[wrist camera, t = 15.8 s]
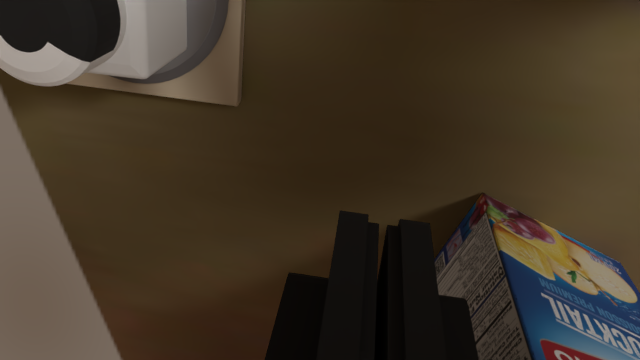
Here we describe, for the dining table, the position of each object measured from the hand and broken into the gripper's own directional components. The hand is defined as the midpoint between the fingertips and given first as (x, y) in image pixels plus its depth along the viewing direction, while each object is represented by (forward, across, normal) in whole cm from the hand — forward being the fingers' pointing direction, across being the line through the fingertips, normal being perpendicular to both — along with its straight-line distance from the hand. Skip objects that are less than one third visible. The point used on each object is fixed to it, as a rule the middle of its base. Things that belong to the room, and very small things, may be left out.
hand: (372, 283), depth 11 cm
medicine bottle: (+27, +16, 0) cm, 31 cm away
